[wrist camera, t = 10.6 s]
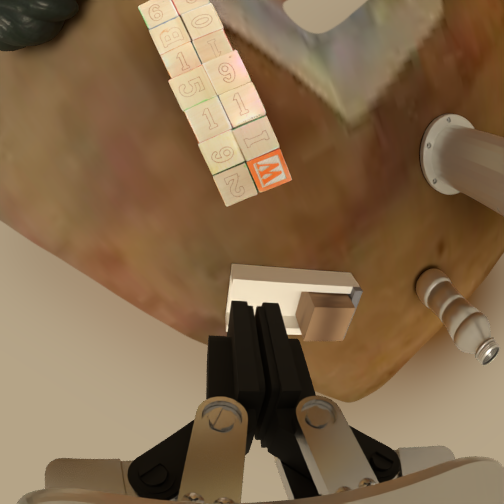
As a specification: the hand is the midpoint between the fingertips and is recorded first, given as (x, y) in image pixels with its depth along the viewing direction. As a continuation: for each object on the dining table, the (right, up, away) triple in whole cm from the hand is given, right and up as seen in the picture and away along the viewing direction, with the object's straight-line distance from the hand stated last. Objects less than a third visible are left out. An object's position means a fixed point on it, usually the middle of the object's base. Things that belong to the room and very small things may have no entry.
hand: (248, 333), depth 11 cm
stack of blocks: (-4, +22, +21) cm, 31 cm away
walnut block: (+10, -4, +35) cm, 37 cm away
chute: (+6, -3, +35) cm, 36 cm away
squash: (-26, +35, +12) cm, 46 cm away
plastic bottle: (+31, -2, +37) cm, 48 cm away
